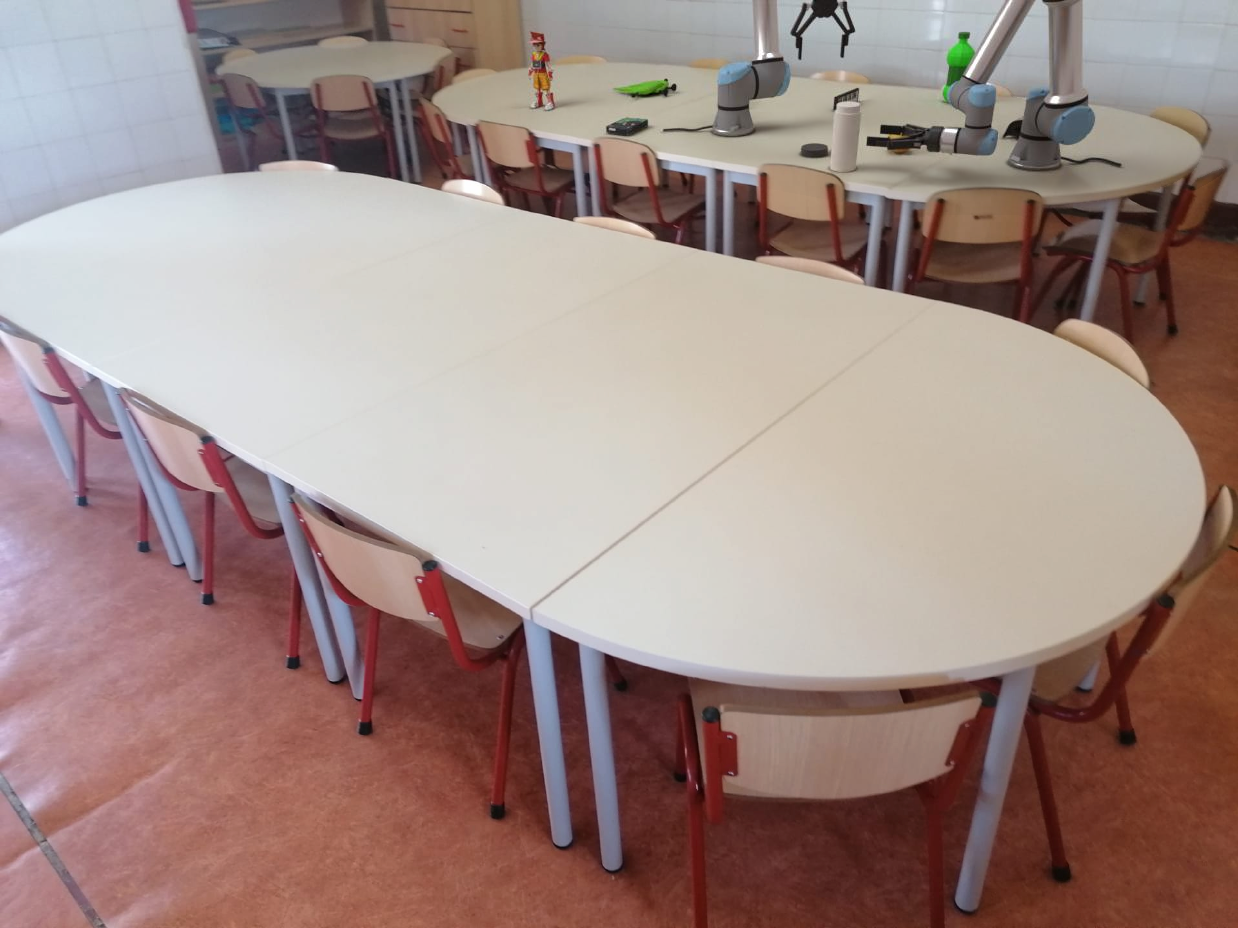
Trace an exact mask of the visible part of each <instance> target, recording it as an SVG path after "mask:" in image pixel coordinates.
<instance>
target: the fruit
mask: <svg viewBox="0 0 1238 928" xmlns="http://www.w3.org/2000/svg"><path fill="white" fill-rule="evenodd" d="M901 134H902V132H901ZM888 137H890V139H893V138H900V137H907V136H901V135H889V134H888V136H887V138H888ZM909 150H910V149H898V150H890V152H893V153H905V152H907V151H909Z"/></svg>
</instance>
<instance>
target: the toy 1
mask: <svg viewBox="0 0 1238 928" xmlns="http://www.w3.org/2000/svg"><path fill="white" fill-rule="evenodd" d="M529 33H530V35H531V36H528V37H527V38H528V39H529V40H528V41H527V43H529V44H530V43H531V44H532V48H533V50H534V51H533V52H532V55H531V58H530V59H531V63H530V66H528V74H527V75H528V76H527V77H528V79H529V80H531V75H532V74H533V84H532V85H533V86H532V87H533V88H534V89H535V90H536V92H534V95H535V97H536V100H535V101H533V102H531V105H530V108H531V109H535V108H538V107H542V106H544V101H543V100H544V99H543V95H544V92H546V94H545V97H546V99H547V103H546V104H545V106H544V110H546V111H549V110H553V109H554V107H555V106H556V105H555V99H554V92H551V91H550V90H551V86H552V84H551V82H552V81H553V80H554V77H553V73H554V71H555V70H554V69H552V68H551V63H550V61H551V59H550V58H551V57H550V54H549V53H548V52H547V50H546V48H545V46H546V44H547V41H545V35H544V33H543V32H542V33H539V32H535V31H529Z"/></svg>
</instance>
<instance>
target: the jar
mask: <svg viewBox="0 0 1238 928" xmlns="http://www.w3.org/2000/svg"><path fill="white" fill-rule="evenodd" d="M836 106H837V110H834V114H833V126H832V127H833V128H832V139H831V151H830V163H829V164H830V165H829V169H830V170H831V171H834V172H838V173H848V172H853V171H855V170H856V169H857V160H858V150H859V139H860V131H861V118H862V110H861V103H860V102H858V101H856V102H851V101H847V102H840V103H838V104H837V105H836Z"/></svg>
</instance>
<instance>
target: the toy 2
mask: <svg viewBox="0 0 1238 928" xmlns="http://www.w3.org/2000/svg"><path fill="white" fill-rule="evenodd" d="M669 85H670V83H669V79H668V78H664V79H663V80H649V81H644V82H640V83H634V84H629V85H627V86H621V87H613V88H612V89H613V90H616V91H619V92H623V93H627V94H628V93H629V94H631V95H630V96H631V98H632V99H634V98H636V96H637V95H650V94H652V93H654V94H658V93H662V95H663V96H665V97H667V96H668V95H669V90H671V91H672V92H676V91H677V84H676V83H672V84H671V86H669Z"/></svg>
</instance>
